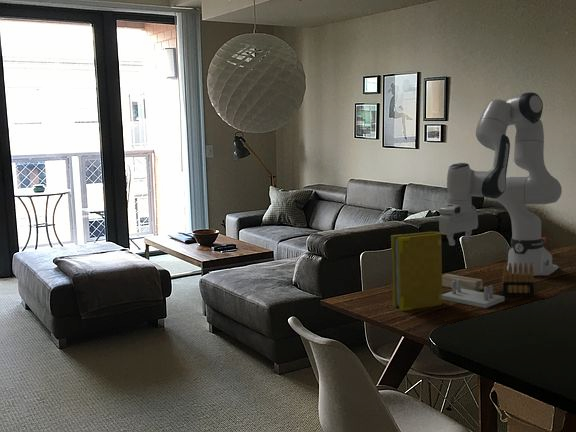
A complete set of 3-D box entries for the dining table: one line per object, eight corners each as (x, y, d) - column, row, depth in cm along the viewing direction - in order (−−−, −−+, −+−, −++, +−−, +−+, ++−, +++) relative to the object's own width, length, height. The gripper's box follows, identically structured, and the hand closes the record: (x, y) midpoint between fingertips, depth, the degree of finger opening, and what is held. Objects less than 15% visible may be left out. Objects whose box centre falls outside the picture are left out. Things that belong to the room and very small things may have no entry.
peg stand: (460, 292, 239) (460, 276, 238) (504, 300, 225) (504, 283, 224) (440, 299, 231) (440, 282, 230) (485, 308, 217) (485, 290, 216)
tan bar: (446, 283, 253) (446, 273, 253) (482, 290, 241) (482, 279, 241) (438, 286, 250) (438, 276, 249) (475, 292, 238) (474, 282, 237)
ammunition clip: (502, 295, 231) (502, 263, 230) (502, 294, 233) (502, 261, 231) (534, 296, 229) (534, 263, 227) (533, 294, 230) (533, 262, 229)
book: (401, 310, 219) (399, 238, 215) (393, 305, 225) (391, 235, 222) (446, 304, 224) (445, 233, 220) (436, 300, 230) (435, 230, 226)
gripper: (468, 203, 250) (468, 239, 252) (435, 209, 237) (436, 246, 239) (482, 204, 245) (482, 240, 247) (450, 210, 232) (450, 248, 234)
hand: (459, 243), depth 243 cm, fingers open, 8 cm apart
